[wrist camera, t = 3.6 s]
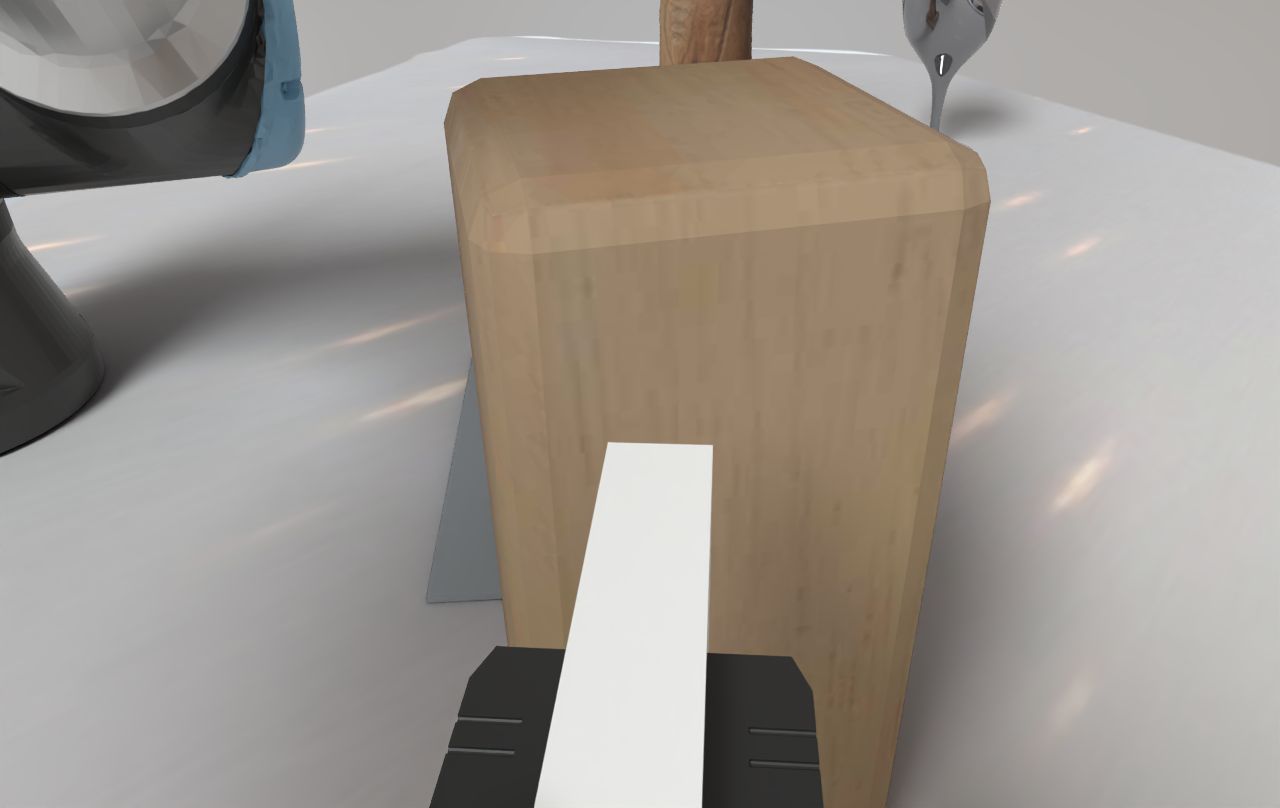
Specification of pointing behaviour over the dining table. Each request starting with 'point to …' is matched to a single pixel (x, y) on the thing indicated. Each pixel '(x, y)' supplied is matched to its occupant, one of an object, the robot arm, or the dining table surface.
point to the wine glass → (947, 38)
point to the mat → (466, 519)
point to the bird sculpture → (705, 31)
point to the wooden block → (726, 350)
